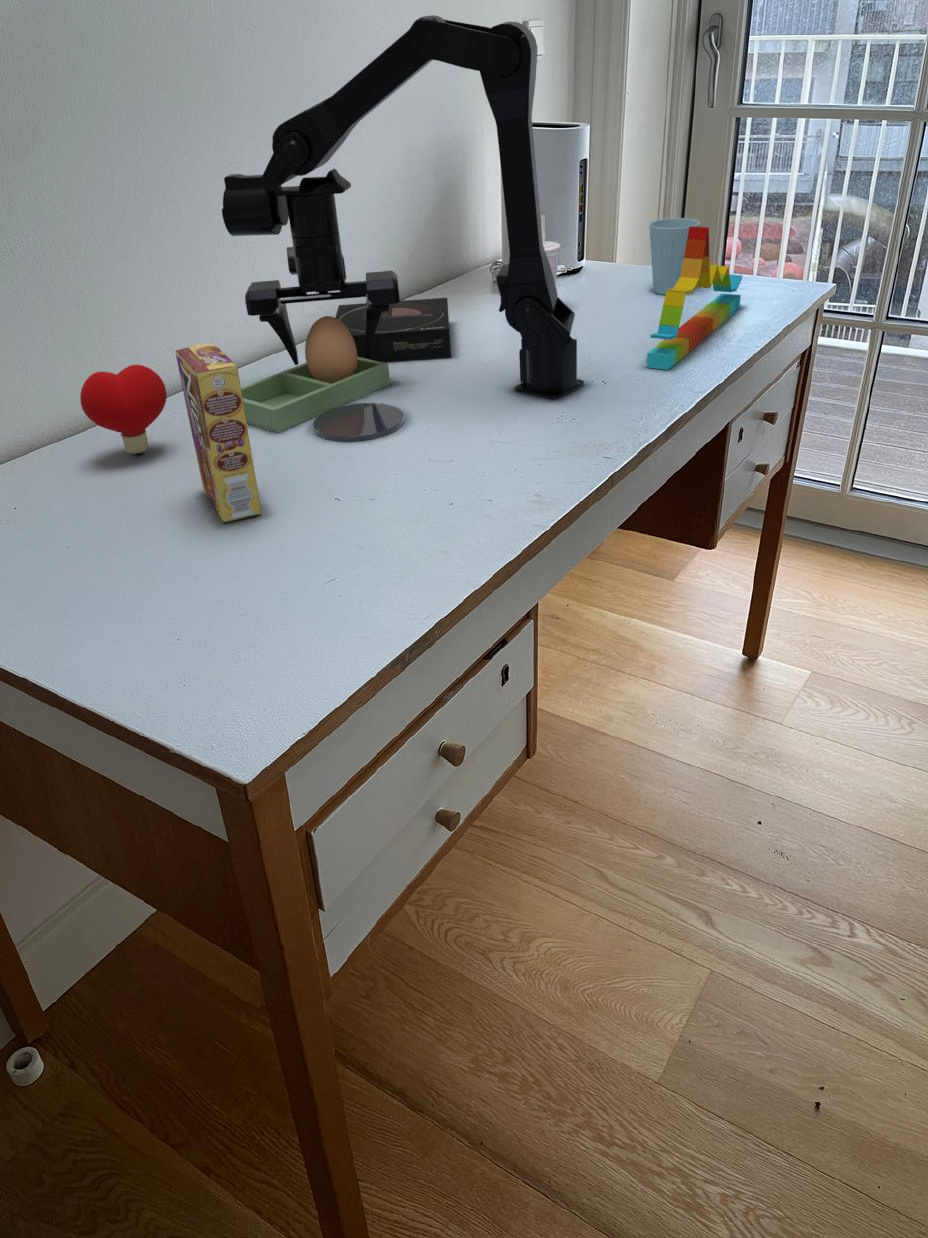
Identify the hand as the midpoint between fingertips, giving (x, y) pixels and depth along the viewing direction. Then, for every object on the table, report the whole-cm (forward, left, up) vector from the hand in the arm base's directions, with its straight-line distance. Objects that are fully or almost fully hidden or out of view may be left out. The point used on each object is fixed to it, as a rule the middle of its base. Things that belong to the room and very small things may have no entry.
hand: (332, 360), depth 126 cm
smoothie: (-2, -42, -4) cm, 43 cm away
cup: (-14, -61, -4) cm, 63 cm away
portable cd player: (+7, -18, -4) cm, 20 cm away
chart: (-29, -42, -4) cm, 51 cm away
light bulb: (+4, +28, -4) cm, 28 cm away
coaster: (-11, +7, -4) cm, 14 cm away
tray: (0, +5, -4) cm, 6 cm away
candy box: (-16, +30, -4) cm, 34 cm away
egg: (0, 0, -4) cm, 4 cm away
